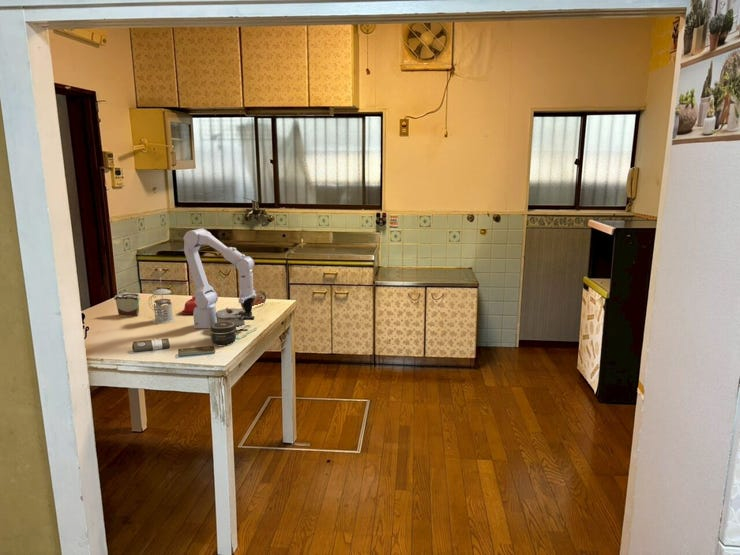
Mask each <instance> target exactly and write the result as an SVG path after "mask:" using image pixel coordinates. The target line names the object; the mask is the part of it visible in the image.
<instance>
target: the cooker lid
mask: <svg viewBox="0 0 740 555" xmlns="http://www.w3.org/2000/svg"><path fill="white" fill-rule="evenodd" d="M215 314H216V317H218V318H222V319H231V318H238V317H241V316H247V317H250V316H253V312H252V311H251V312H246V311H245V309H243V308H235V307H233V308H232V307H231V308H229V307H225V308H223V309H219V310H216V313H215Z"/></svg>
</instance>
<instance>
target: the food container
mask: <svg viewBox="0 0 740 555" xmlns="http://www.w3.org/2000/svg"><path fill="white" fill-rule="evenodd" d="M113 299H114V300H113V301H115V304H116V309H117V313H118V316H119V317H139V316H138V315H140V301H141V296H140V295H139V294H138V293H134V292H131V293H128V292H126V293H120V294H116V295H114V298H113Z"/></svg>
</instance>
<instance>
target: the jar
mask: <svg viewBox="0 0 740 555" xmlns="http://www.w3.org/2000/svg"><path fill="white" fill-rule="evenodd" d="M236 332H237V331H236V327H235V323H233V322H229V321H223V322H217V323H214V324H212V325H211V328H210V337H211V343H212V344H213V345H214V344H215V346H218V345H222V346H223V345H225V346H229V345H228V344H230V345H232V344H234V343H235V341H236V339H237V333H236ZM233 342H234V343H233ZM231 343H232V344H231ZM222 346H221V347H222ZM223 347H224V346H223Z"/></svg>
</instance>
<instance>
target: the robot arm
mask: <svg viewBox="0 0 740 555" xmlns="http://www.w3.org/2000/svg"><path fill="white" fill-rule="evenodd" d="M183 241H184V243H183V244H184V246H183V253H184V255H185V259H186V260H187V264H188V266H189V271H190V273H191V275H192V279H193V281H194V284H195V288H196V289H195V292H194V296H195V303H196V305H197V306H198V307H195V308H194V312H193V314H192V315H193V326H194V327H193V329H211V325H212V324H214V323H217V318H216V314H215V313H216V312H217V307H216V305H217V304H216V303H217V302H218V299H219V297H218V293H217V292H216V291H215V289H214V287H213V286H211V285H210V284H209V282H208V278H207V275H206V272H205V268H204V267H203V263H202V261H201V256H200V253H199V250H200V248H201V246H203V245H208V246H209V247H211V248H213V249H214V250H216V251H218V252H219V253H220V254H222V256H223V259H225V260H227V261H228V262H230V263H231V264H232V265H234V266H235V267H236V269H237V271H238V276H239V278H238V279H239V292H240V294H239V298H238V303H239V304H241V303H242V305H243V307H244V308H243V307H242V308H243V310H244V311H246V312H252V310H253V309H252V305H253V302H254V300H255V298H251V297H255V296H256V294H255V291H256V290H255V289H254V275H253V269H254V266H255V261H254V259H253V258H252V257H251V256H248V255H247V256H246V255H245V254H244V253H241V252H240V251H239V250H237V248H236V247H232V246H230V247H228V246H226V245H225V243H223V242H221V241H220V240H219V239H217V238H216V237H215V236H214V235H212V233H211V232H210V231H208V230H206V229H205V228H202V227H200V228H198V229H192V230H188V231H187V232H186V233H185V234H184V236H183Z"/></svg>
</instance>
